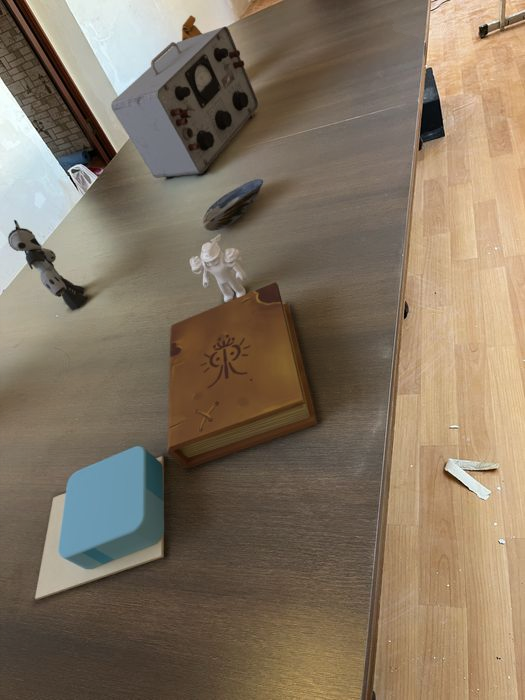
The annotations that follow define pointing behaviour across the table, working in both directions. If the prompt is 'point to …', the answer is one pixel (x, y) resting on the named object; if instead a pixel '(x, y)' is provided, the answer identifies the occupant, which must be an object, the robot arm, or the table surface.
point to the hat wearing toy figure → (220, 268)
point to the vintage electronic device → (187, 104)
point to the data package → (112, 509)
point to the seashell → (231, 206)
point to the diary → (235, 379)
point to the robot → (46, 267)
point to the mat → (68, 575)
